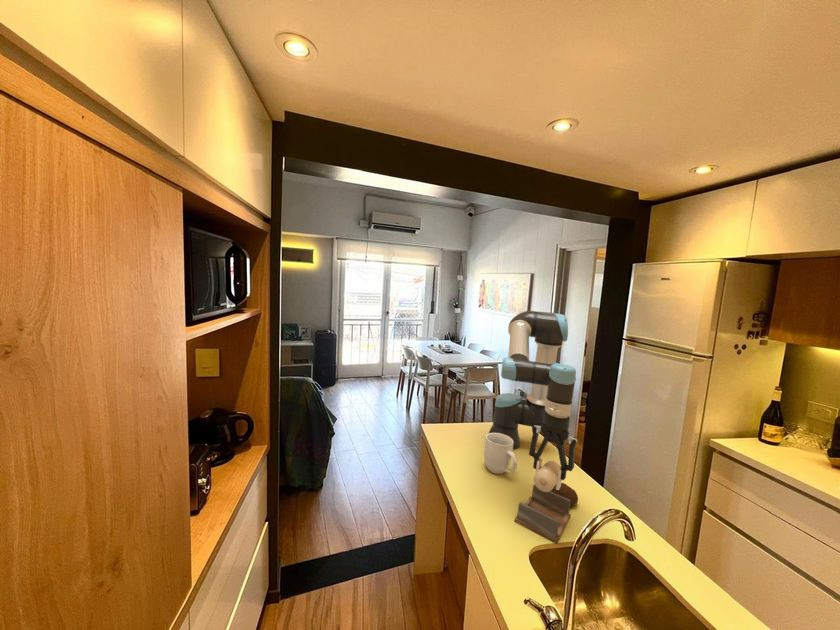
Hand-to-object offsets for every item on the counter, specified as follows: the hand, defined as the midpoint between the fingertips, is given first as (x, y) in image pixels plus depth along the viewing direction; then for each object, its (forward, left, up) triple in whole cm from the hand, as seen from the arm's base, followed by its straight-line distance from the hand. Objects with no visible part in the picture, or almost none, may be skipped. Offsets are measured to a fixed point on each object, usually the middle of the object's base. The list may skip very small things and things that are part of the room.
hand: (547, 483), depth 107 cm
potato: (-14, +3, -13) cm, 19 cm away
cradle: (0, 0, -12) cm, 12 cm away
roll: (0, 0, 0) cm, 1 cm away
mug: (-16, -23, -13) cm, 31 cm away
